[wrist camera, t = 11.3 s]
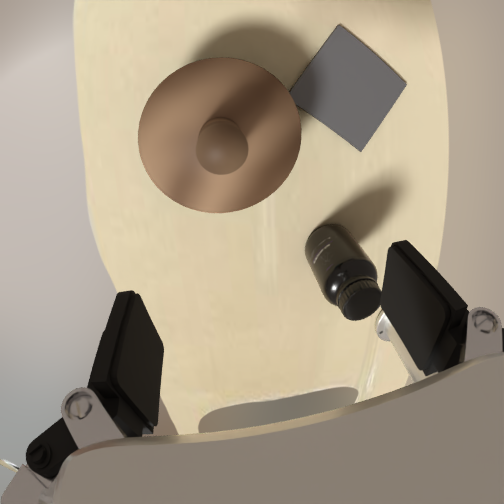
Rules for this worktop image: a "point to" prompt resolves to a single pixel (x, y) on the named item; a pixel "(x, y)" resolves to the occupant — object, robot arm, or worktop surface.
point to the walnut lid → (219, 135)
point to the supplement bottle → (343, 271)
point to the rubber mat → (348, 88)
